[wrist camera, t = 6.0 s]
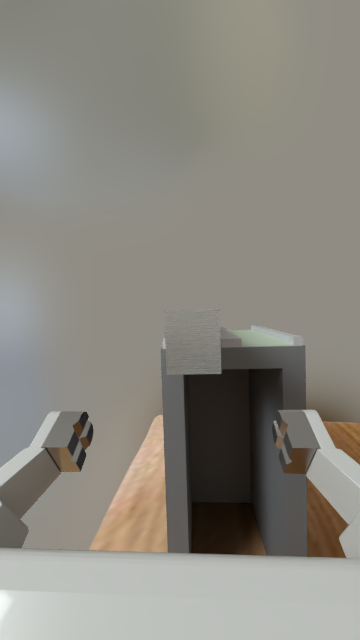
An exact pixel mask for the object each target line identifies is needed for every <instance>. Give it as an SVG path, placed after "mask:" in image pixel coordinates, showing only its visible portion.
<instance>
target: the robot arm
mask: <svg viewBox="0 0 360 640" xmlns="http://www.w3.org/2000/svg"><path fill="white" fill-rule="evenodd" d="M88 417H89V416H88V414H87V412H64V411H63V412H62V411H60V412H59V411H58V412H57V411H54V412H50V413H49V414H48V415H47V417H46V419H45V420H44V422H43V424H42V426H41V427H40V429H39V431H38V433H37V435H36V436H35V438H34V440H33V442H32V443H31V445H30V447H29V448H25V449H24V450H22V451H21V452H20V453H19V454H17V455H16V456H15V457H14V458H12V459H11V460H10V461H9V462H7V463H6V464H5V465H4V466H2V467H1V468H0V640H360V465H359V464H358V463H357V462H356V461H354V460H353V459H352V458H351V457H349V456H348V455H347V454H346V453H345V452H343V451H342V450H341V449H336V447H335V445H334V443H333V441H332V439H331V438H330V436H329V434H328V432H327V430H326V428H325V426H324V424H323V422H322V420H321V418H320V416H319V414H318V413H317V411H315V410H277V411H276V413H275V418H276V420H275V421H274V422H273V425H272V434H273V439H274V443H275V446H276V447H277V448H278V449H279V450H280V453H279V459H280V463H281V466H282V469H283V472H284V473H286V474H306V476H307V477H308V479H309V480H310V481H311V482H312V483H313V484H314V485H315V487H316V488H317V489H318V490H319V491H320V492H321V494H322V495H323V496H324V497H325V498H326V499H327V501H328V502H329V503H330V504H331V505H332V506H333V507H334V509H335V510H336V511H337V512H338V513H339V514H340V516H341V517H342V518H343V519H344V520H345V521H346V523H347V524H348V526H347V527H346V528H345V530H344V531H343V532H342V533H341V535H340V537H339V540H340V543H341V546H342V548H343V551H344V553H345V556H346V558H332V557H298V556H264V555H231V554H197V553H163V552H130V551H96V550H61V549H28V548H26V549H25V548H22V545H23V543H24V541H25V538H26V536H27V534H28V531H29V530H28V527H27V526H26V525H25V524H24V523H23V522H22V521H21V520H20V519H21V518H22V516H23V515H24V514H25V513H26V512H27V511H28V510H29V509H30V507H31V506H32V505H33V504H34V503H35V502H36V501H37V500H38V498H39V497H40V496H41V495H42V494H43V493H44V492H45V491H46V489H47V488H48V487H49V486H50V485H51V484H52V483H53V481H54V480H55V479H56V478H57V477H58V476H59V475H60V474H61V472H80V471H81V469H82V466H83V463H84V461H85V458H86V453H85V449H86V448H87V447H88V446H90V444H91V441H92V437H93V426H92V423H91V422H89V421H88Z"/></svg>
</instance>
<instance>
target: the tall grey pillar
mask: <svg viewBox="0 0 360 640" xmlns="http://www.w3.org/2000/svg"><path fill="white" fill-rule="evenodd" d="M220 339H221V374H185V375H167V373H166V344H165V339H164V340H163V347H162V348H161V370H162V396H163V397H162V398H163V427H164V455H165V483H166V511H167V539H168V553H191V551H192V502H229V503H252V507H253V510H254V513H255V517H256V520H257V524H258V527H259V530H260V534H261V537H262V540H263V544H264V547H265V550H266V554H267V556H298V557H308V549H307V476H306V474H286V473H284V472H283V469H282V466H281V463H280V459H279V453H280V450H279V449H278V448H277V447H276V446H275V443H274V439H273V434H272V425H273V422H274V421H275V420H276V418H275V413H276V411H277V410H306V380H305V379H306V371H305V346H304V345H303V337H301V336H297V335H293V334H289V333H285V332H281V331H277V330H273V329H269V328H265V327H261V326H257V325H254V326H253V325H252V326H251V330H234V331H233V330H232V331H228V330H227V329H225V328H223V327H222V326H220Z"/></svg>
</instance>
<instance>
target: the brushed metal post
mask: <svg viewBox="0 0 360 640" xmlns="http://www.w3.org/2000/svg"><path fill="white" fill-rule="evenodd" d="M164 314H165V344H166V373H167V375H185V374H221V339H220V310H180V311H164Z"/></svg>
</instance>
